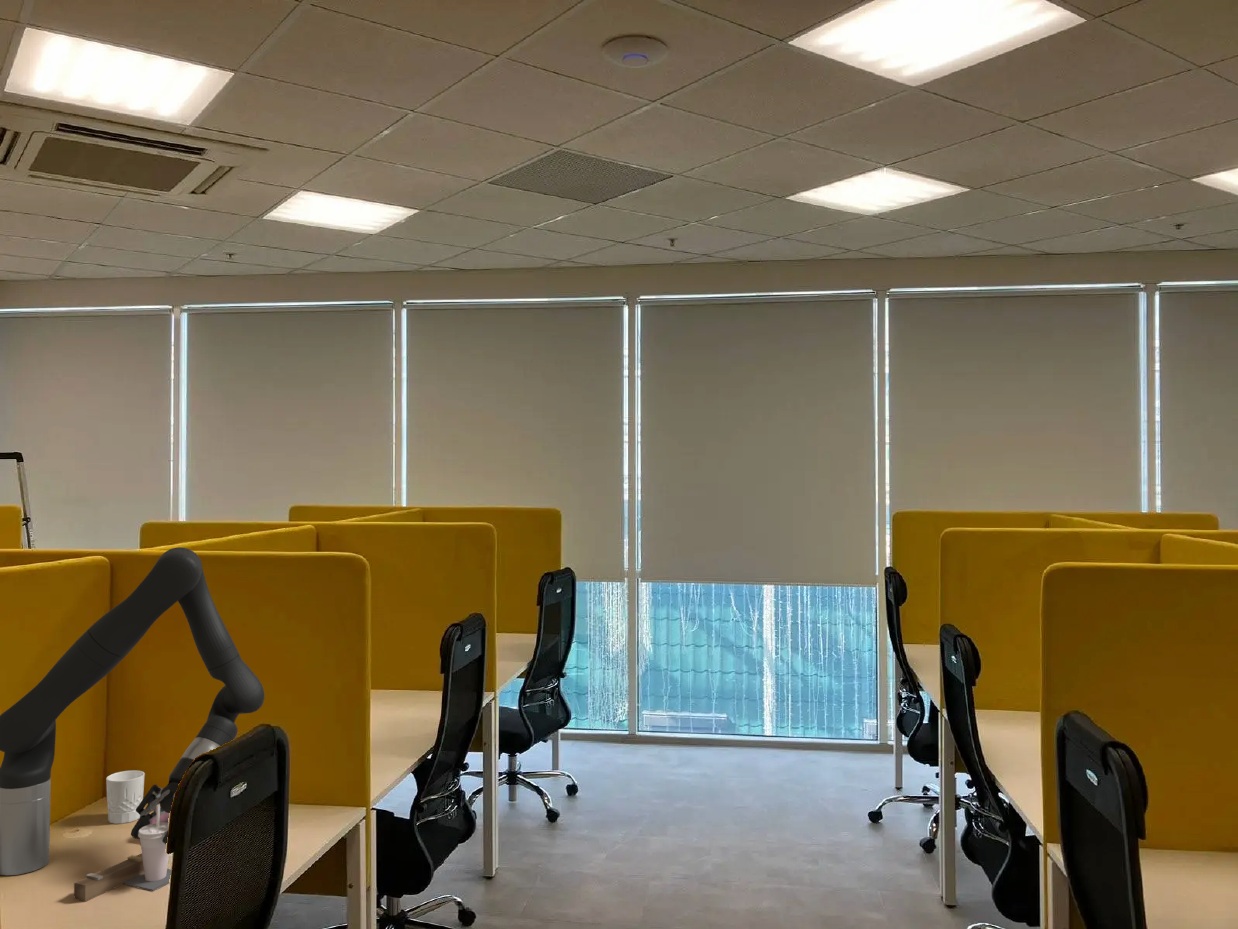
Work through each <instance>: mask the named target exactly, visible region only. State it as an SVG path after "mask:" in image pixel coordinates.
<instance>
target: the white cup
mask: <svg viewBox="0 0 1238 929" xmlns="http://www.w3.org/2000/svg"><path fill="white" fill-rule="evenodd" d="M145 776H146V773H145V772H144V771H142V770H137V769H136V770H134V769H133V770H124V771H117V772H114V773H112V774H110V775H108V776H107V777H106V778H105V779H106V782H105V783H106V801H107V821H108V822H109V823H110V824H114V825H117V824H118V825H119V824H126V823H131V822H135V821H138V820H139V818H140V814H139V813H137V812H136V808H137V807H138V805H139V804H140V803H141V801H142V800H143V798H144V792H145V791H144V790H145V789H144V788H145Z"/></svg>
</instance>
